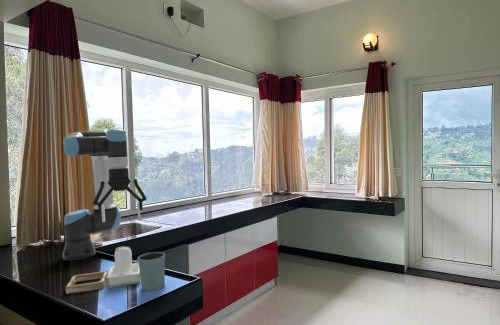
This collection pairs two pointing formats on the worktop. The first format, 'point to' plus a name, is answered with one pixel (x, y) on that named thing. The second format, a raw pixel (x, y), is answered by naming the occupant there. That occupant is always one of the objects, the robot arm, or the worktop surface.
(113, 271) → the tray
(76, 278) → the holder ring
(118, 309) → the worktop surface
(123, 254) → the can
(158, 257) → the grey-green cup
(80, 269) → the worktop surface
